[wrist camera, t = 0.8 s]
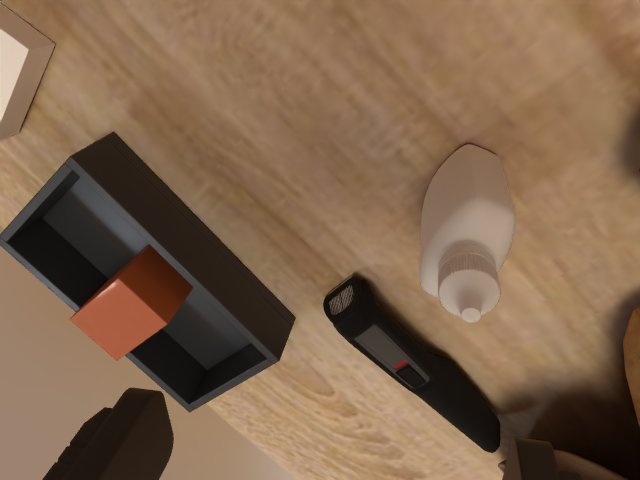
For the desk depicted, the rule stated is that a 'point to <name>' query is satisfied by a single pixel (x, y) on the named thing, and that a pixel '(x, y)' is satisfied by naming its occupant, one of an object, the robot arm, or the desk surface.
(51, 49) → the box
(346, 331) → the electric trimmer
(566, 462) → the plant saucer
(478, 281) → the eye dropper bottle
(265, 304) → the bin
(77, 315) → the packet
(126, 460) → the robot arm
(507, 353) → the desk surface
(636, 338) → the potato
